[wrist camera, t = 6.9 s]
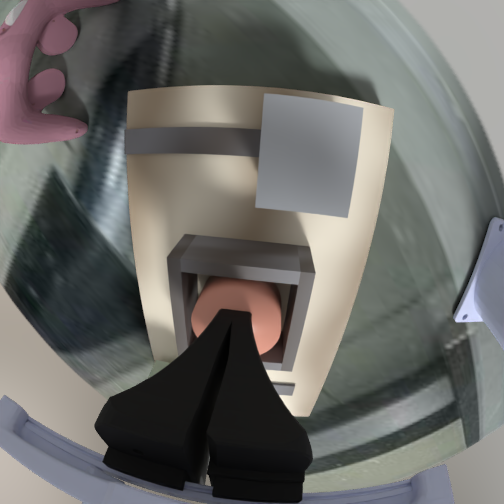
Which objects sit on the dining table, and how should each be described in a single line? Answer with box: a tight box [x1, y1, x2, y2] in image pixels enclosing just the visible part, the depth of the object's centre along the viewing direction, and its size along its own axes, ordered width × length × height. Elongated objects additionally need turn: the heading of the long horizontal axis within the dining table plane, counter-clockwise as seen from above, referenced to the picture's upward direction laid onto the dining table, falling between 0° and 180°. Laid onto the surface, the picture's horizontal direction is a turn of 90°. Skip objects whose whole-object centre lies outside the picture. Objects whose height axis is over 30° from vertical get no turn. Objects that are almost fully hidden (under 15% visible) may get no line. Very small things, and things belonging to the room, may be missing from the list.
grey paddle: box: [255, 93, 364, 218], centre depth 9 cm, size 3×4×3 cm
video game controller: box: [0, 0, 119, 144], centre depth 8 cm, size 10×5×7 cm
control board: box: [125, 85, 394, 416], centre depth 14 cm, size 12×22×4 cm, turn 177°
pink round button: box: [191, 275, 281, 355], centre depth 13 cm, size 4×4×2 cm
